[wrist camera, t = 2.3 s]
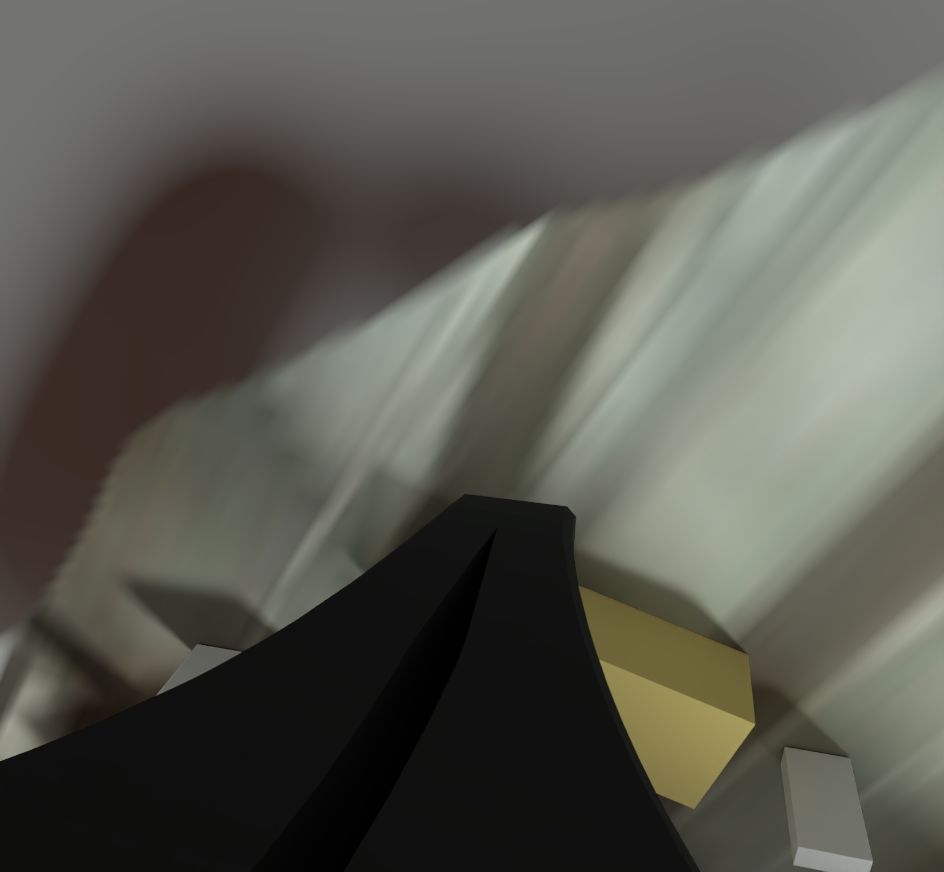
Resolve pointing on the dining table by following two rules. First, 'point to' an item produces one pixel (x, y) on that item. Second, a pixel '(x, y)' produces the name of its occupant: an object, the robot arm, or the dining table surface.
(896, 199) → the dining table surface
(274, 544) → the dining table surface
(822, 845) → the grey flat pieces
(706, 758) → the khaki rectangular brick
